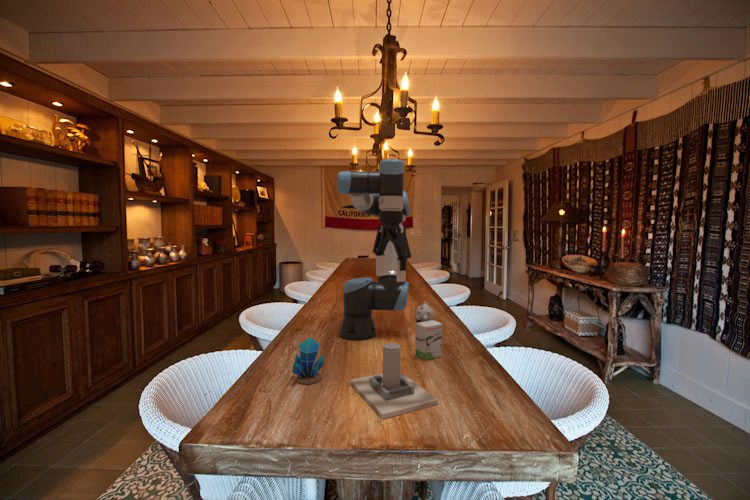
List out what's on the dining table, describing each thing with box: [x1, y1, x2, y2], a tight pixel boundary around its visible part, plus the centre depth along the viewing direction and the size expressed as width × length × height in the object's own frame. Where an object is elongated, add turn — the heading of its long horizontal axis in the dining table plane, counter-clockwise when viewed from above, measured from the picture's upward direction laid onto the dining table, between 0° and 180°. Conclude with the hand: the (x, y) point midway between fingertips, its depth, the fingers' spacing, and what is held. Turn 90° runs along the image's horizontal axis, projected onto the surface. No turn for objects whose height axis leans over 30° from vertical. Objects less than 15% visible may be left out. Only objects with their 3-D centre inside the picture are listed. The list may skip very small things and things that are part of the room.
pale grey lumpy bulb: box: [415, 300, 436, 322], centre depth 165 cm, size 10×8×15 cm
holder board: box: [349, 371, 439, 420], centre depth 94 cm, size 20×16×3 cm
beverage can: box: [382, 342, 402, 390], centre depth 94 cm, size 5×5×12 cm
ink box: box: [414, 319, 444, 361], centre depth 121 cm, size 9×5×12 cm, turn 123°
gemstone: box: [291, 336, 325, 386], centre depth 102 cm, size 7×9×12 cm
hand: (390, 278), depth 110 cm, fingers open, 13 cm apart
